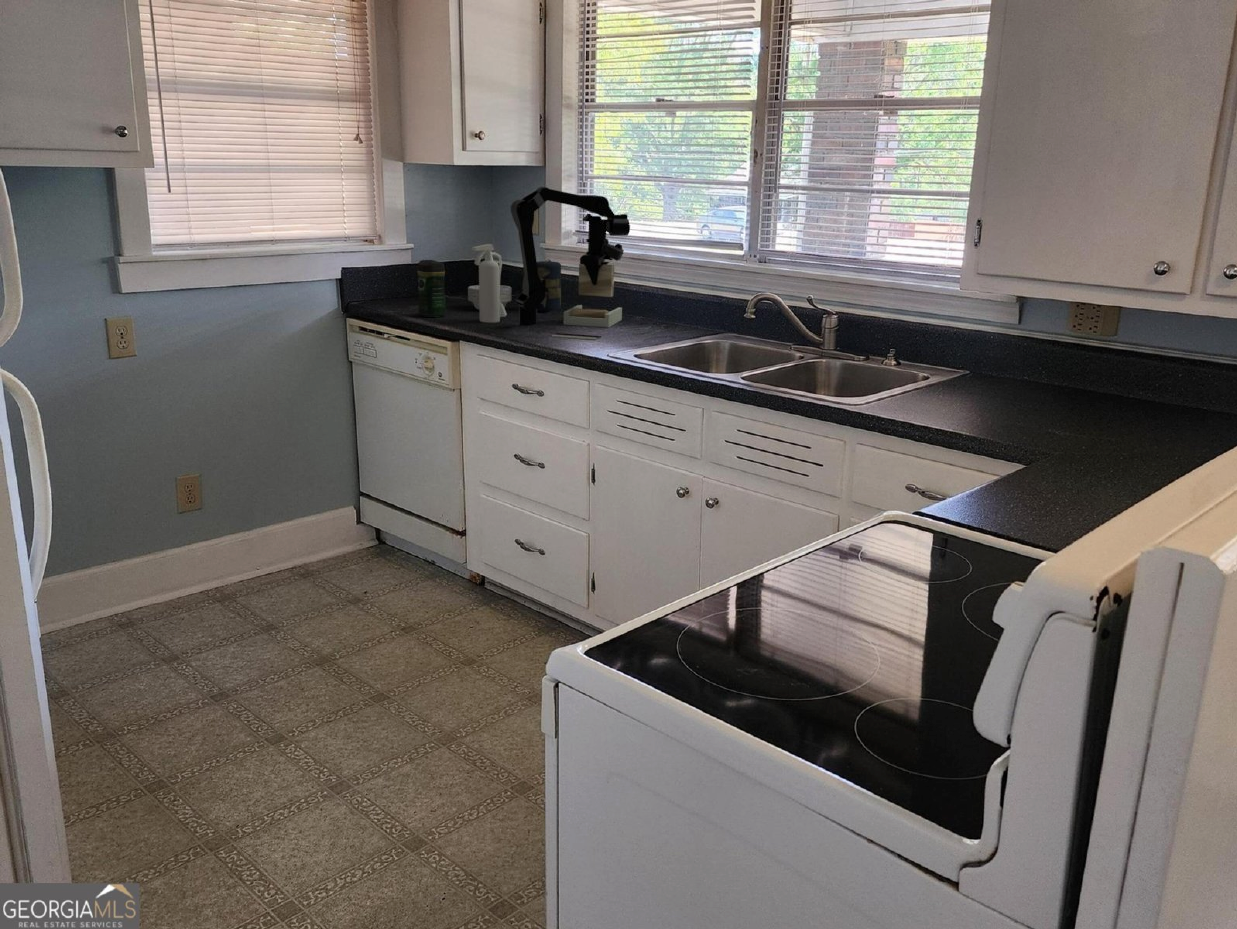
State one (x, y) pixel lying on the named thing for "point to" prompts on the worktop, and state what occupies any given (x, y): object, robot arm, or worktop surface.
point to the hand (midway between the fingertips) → (596, 284)
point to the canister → (550, 284)
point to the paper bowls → (504, 297)
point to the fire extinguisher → (489, 285)
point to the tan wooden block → (603, 283)
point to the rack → (596, 322)
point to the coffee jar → (431, 288)
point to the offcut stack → (589, 313)
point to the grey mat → (576, 336)
